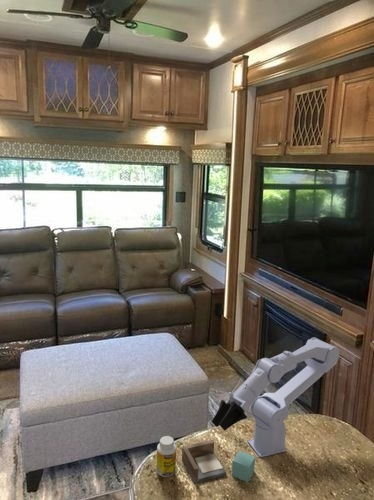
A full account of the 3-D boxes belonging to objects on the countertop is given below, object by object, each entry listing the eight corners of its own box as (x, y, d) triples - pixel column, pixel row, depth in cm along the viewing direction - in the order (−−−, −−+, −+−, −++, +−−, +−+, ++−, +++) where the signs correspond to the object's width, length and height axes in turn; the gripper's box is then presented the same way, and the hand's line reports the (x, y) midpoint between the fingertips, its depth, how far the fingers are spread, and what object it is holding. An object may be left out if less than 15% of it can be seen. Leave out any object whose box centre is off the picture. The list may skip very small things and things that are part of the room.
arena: (212, 452, 130) (212, 439, 129) (226, 475, 121) (226, 461, 120) (181, 459, 126) (182, 446, 125) (194, 483, 117) (194, 469, 116)
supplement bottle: (162, 481, 118) (163, 449, 116) (153, 468, 122) (153, 438, 120) (179, 473, 121) (180, 442, 119) (169, 461, 125) (170, 431, 123)
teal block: (238, 465, 125) (239, 450, 124) (254, 471, 122) (255, 456, 121) (231, 475, 121) (232, 460, 120) (247, 482, 118) (249, 467, 117)
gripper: (232, 380, 131) (201, 413, 126) (248, 381, 117) (215, 417, 112) (247, 397, 130) (217, 430, 126) (265, 400, 117) (233, 438, 112)
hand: (217, 426), depth 119 cm, fingers open, 7 cm apart
